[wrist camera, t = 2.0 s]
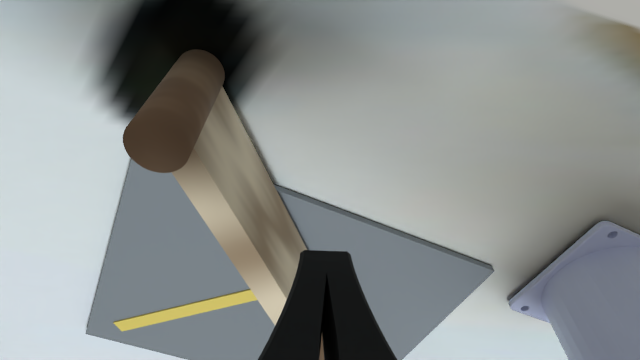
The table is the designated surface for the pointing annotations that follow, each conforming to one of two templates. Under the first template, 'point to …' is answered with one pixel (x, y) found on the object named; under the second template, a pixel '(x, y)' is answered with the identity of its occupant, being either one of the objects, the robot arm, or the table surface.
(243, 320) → the board
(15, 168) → the table surface
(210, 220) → the wooden plank
